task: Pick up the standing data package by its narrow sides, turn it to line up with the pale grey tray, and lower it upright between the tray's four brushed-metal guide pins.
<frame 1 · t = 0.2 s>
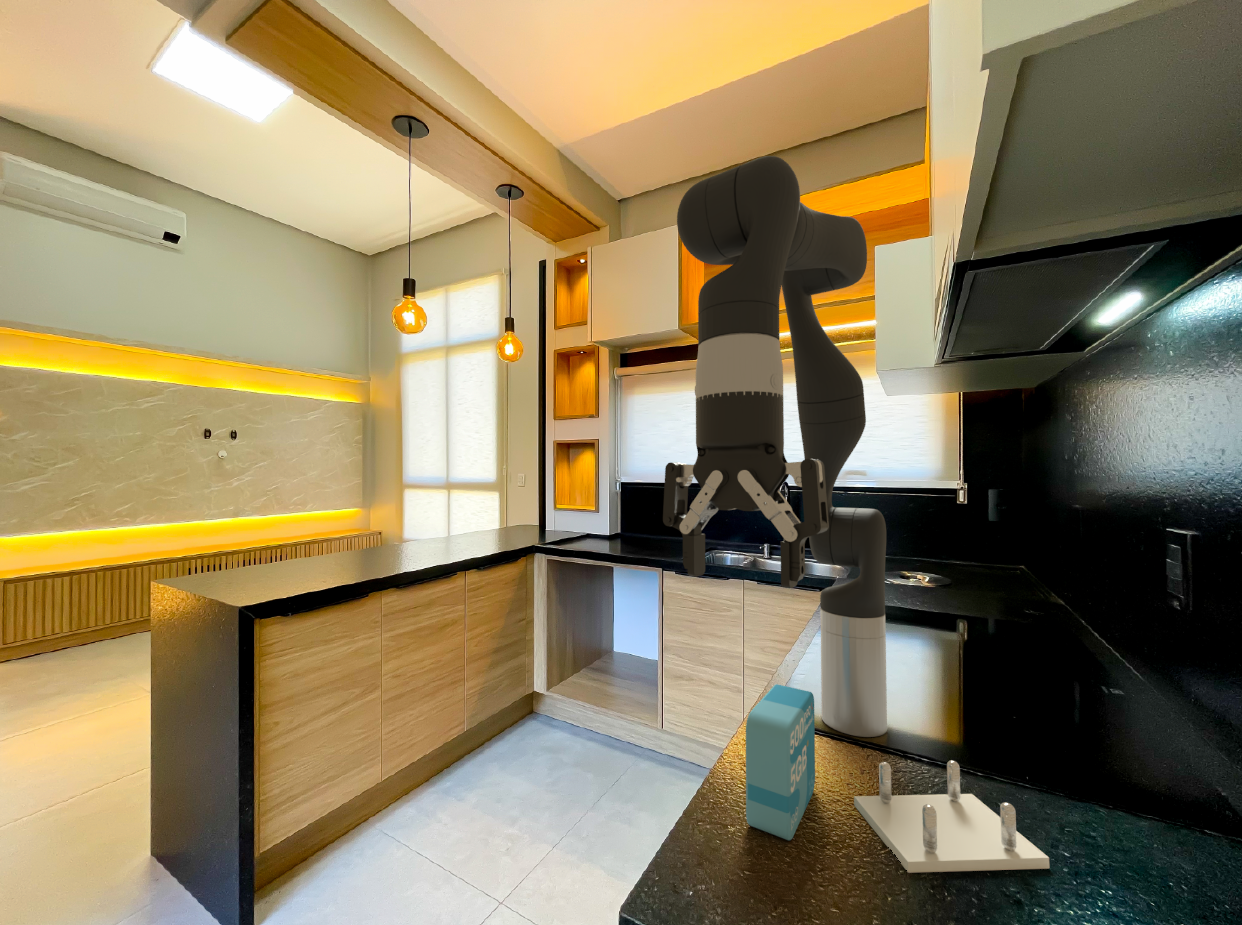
hand: (740, 580, 44), 28 cm above the worktop, tool pointing down, fingers open, 8 cm apart
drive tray: (943, 833, 53), on the worktop
data package: (782, 810, 57), on the worktop
guide pins: (942, 802, 53), on the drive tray, point 3 cm above the worktop
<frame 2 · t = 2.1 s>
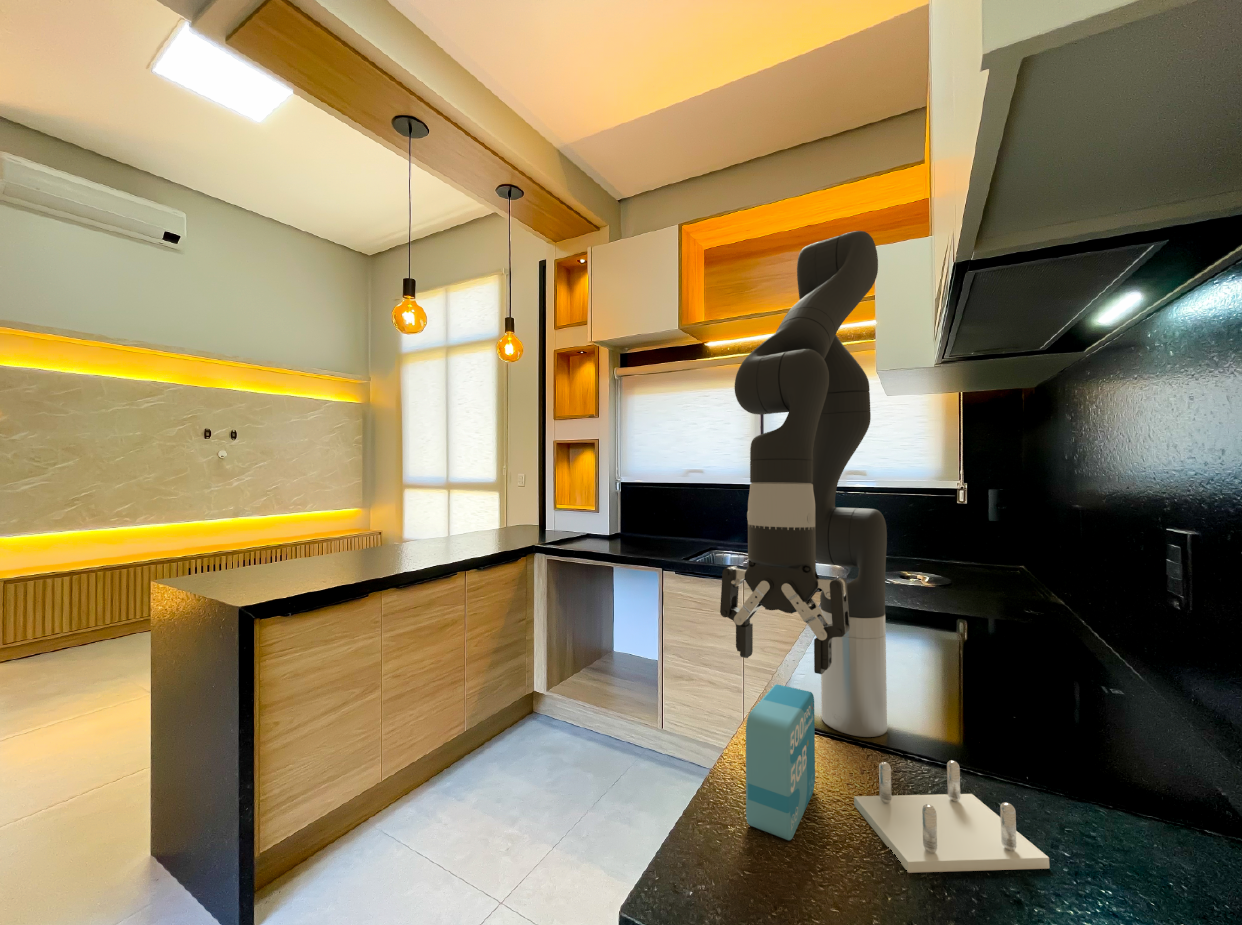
hand: (781, 663, 58), 16 cm above the worktop, tool pointing down, fingers open, 8 cm apart
nothing on the worktop moved.
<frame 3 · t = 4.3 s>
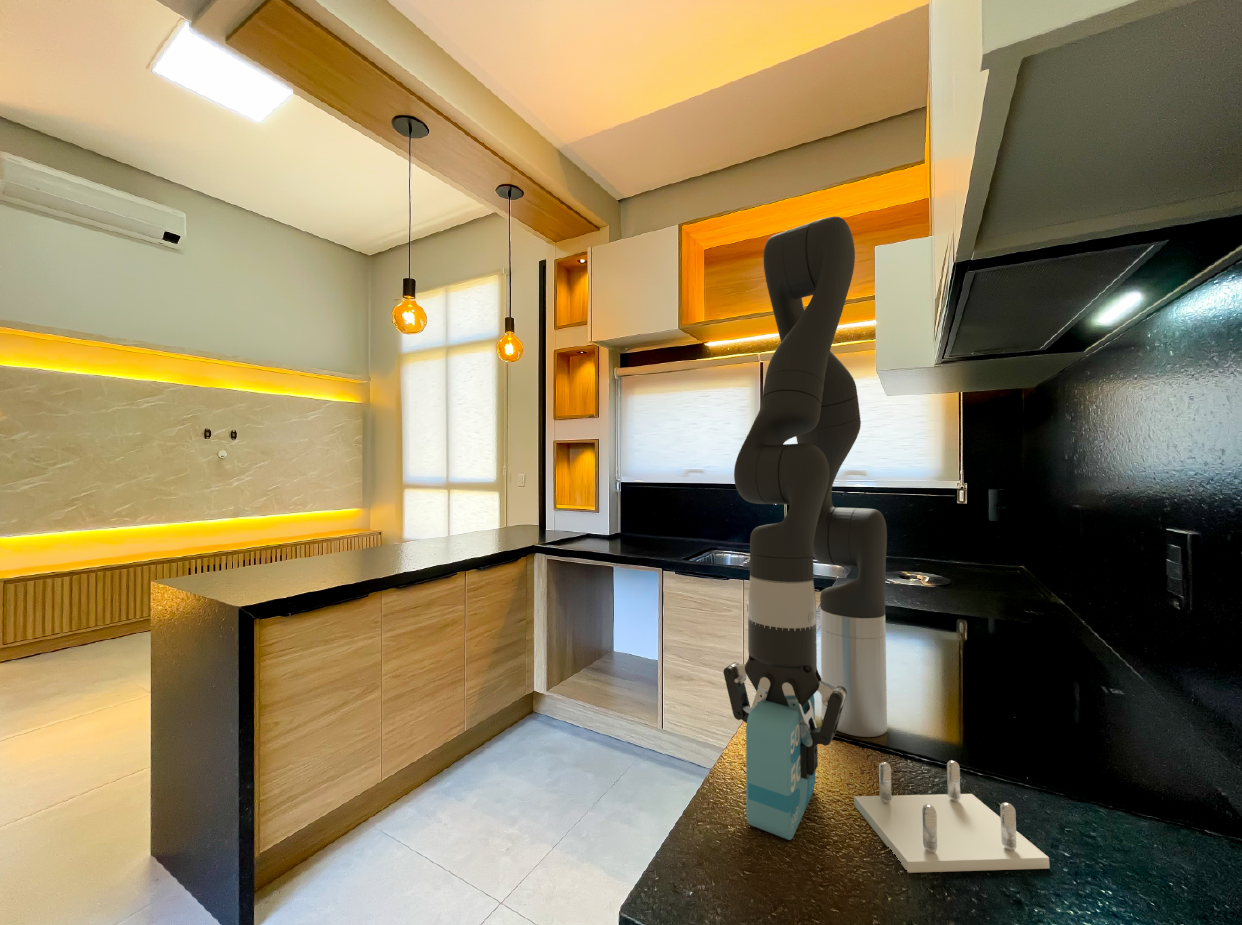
hand: (782, 766, 57), 5 cm above the worktop, tool pointing down, fingers closed on data package, 4 cm apart
data package: (783, 810, 57), on the worktop, touching gripper
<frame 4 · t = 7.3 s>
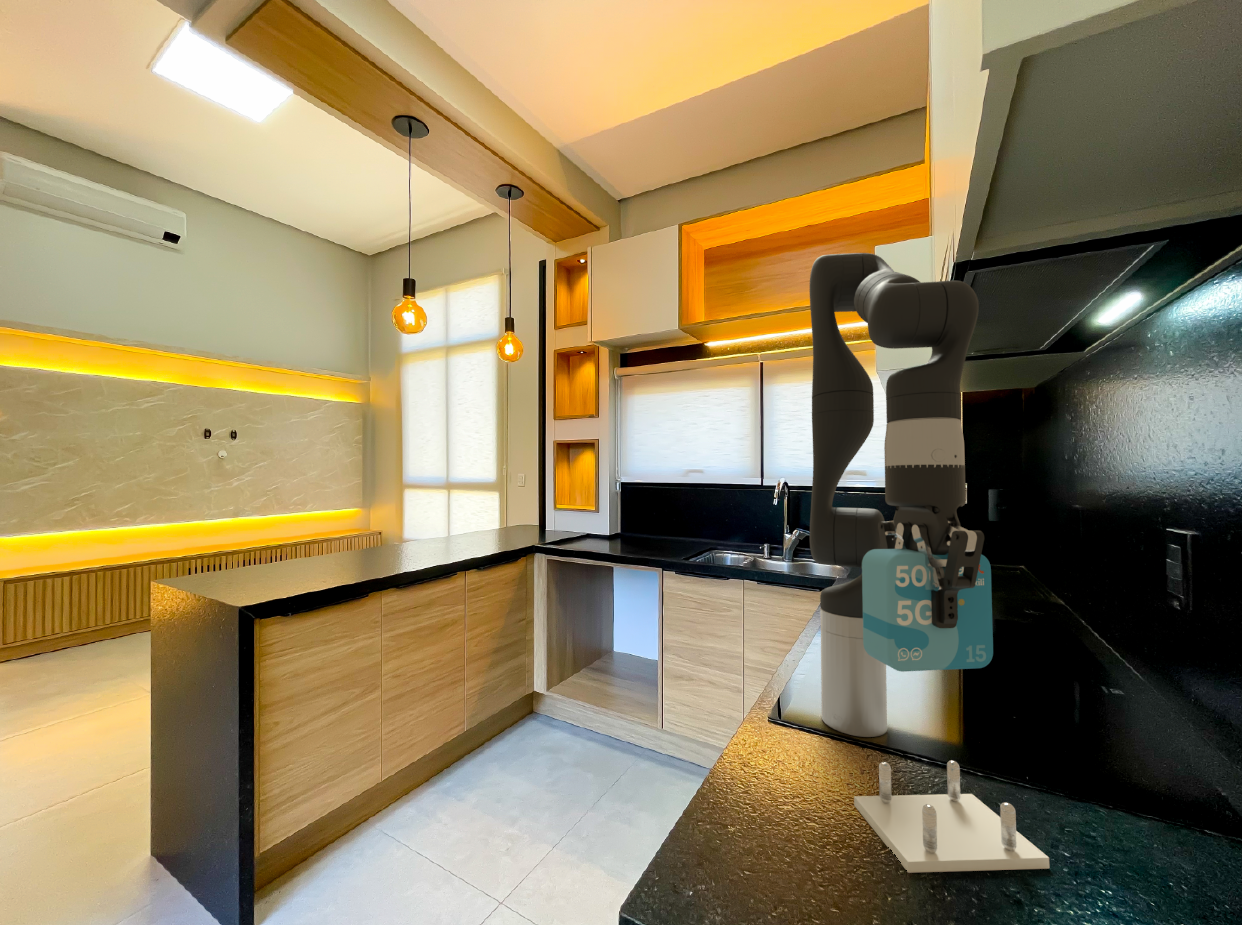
hand: (926, 619, 54), 22 cm above the worktop, tool pointing down, fingers closed on data package, 4 cm apart
data package: (926, 664, 54), point 17 cm above the worktop, touching gripper
when the fingers open (7 cm above the worktop, at t = 10.8 s): data package drops 1 cm, resting on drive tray.
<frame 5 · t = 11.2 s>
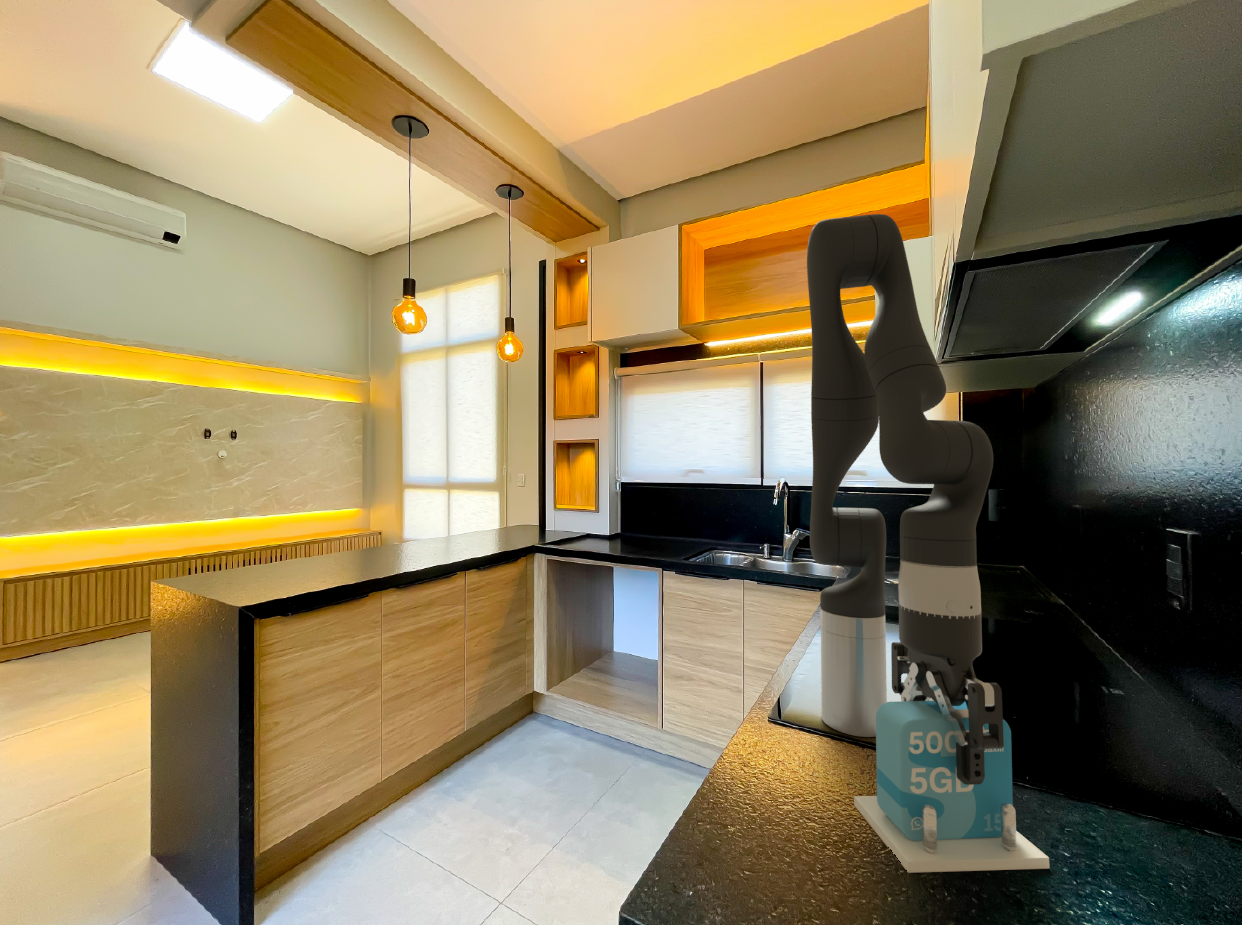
hand: (941, 759, 53), 8 cm above the worktop, tool pointing down, fingers open, 7 cm apart
data package: (943, 826, 53), point 1 cm above the worktop, touching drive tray
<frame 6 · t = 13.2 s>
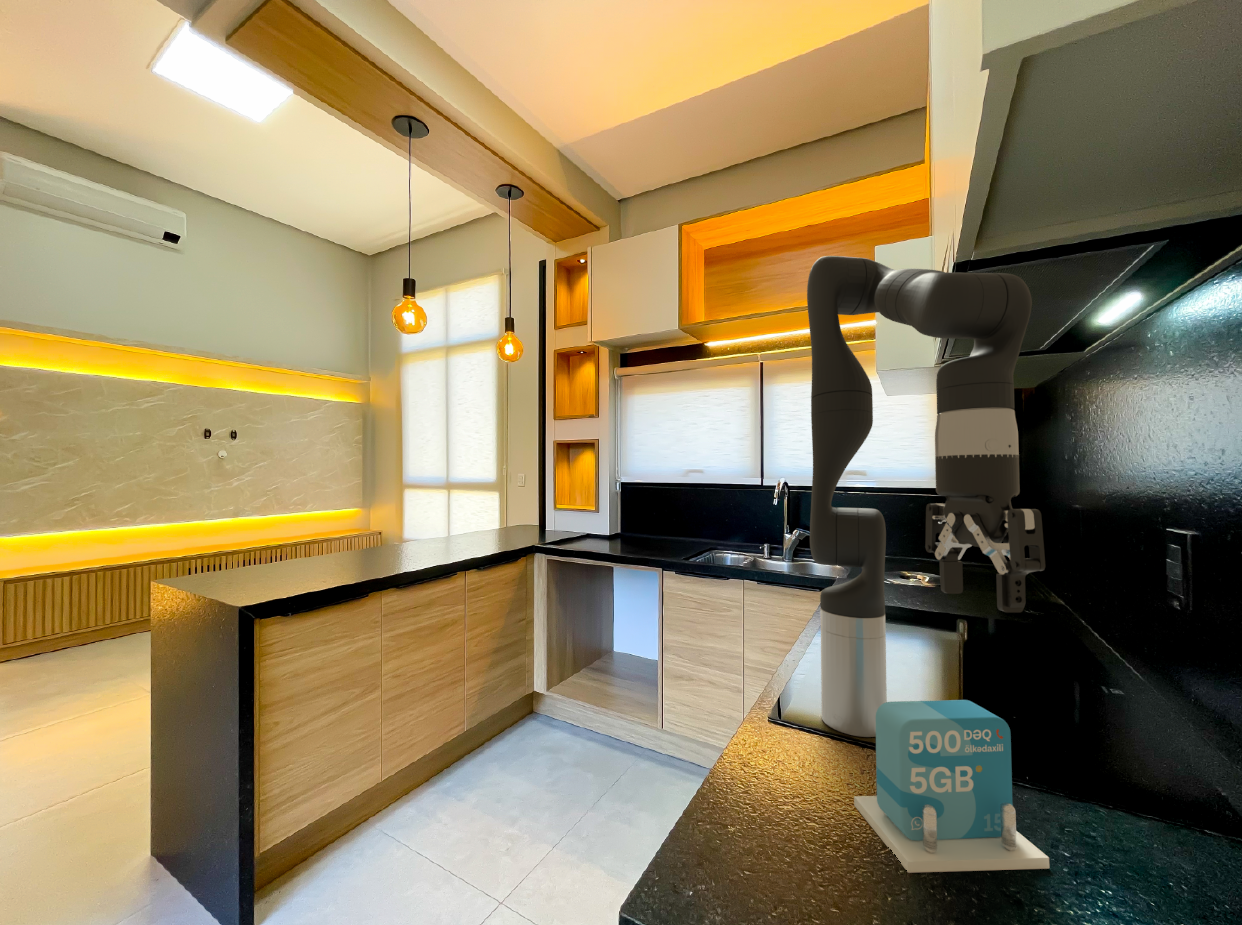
hand: (978, 601, 55), 24 cm above the worktop, tool pointing down, fingers open, 8 cm apart
nothing on the worktop moved.
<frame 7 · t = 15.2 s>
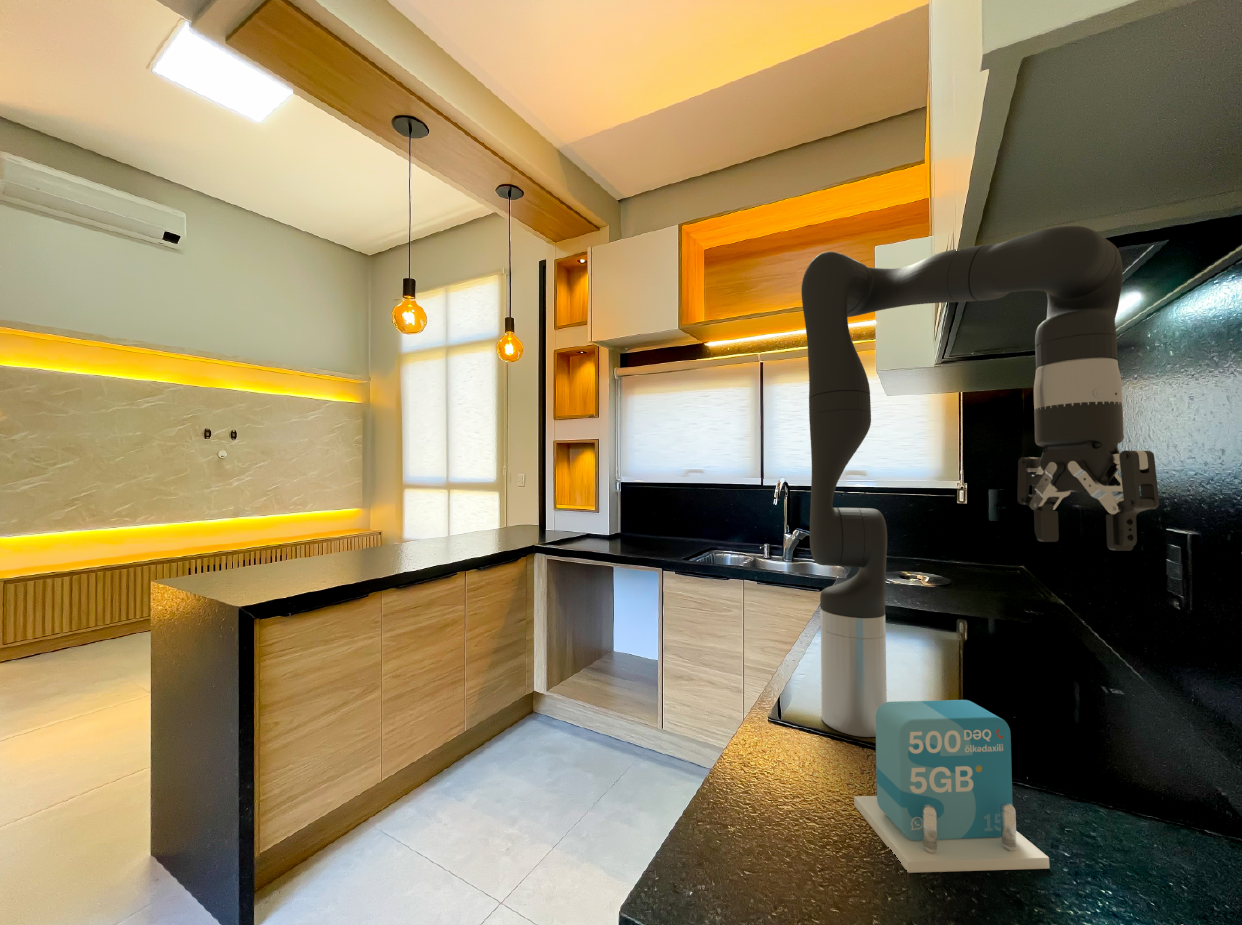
hand: (1081, 545, 57), 30 cm above the worktop, tool pointing down, fingers open, 8 cm apart
nothing on the worktop moved.
at the end: data package 0.1 cm off-centre on the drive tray, point 0.8 cm above the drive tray's base; data package tilted 0°; the gripper is holding nothing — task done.
